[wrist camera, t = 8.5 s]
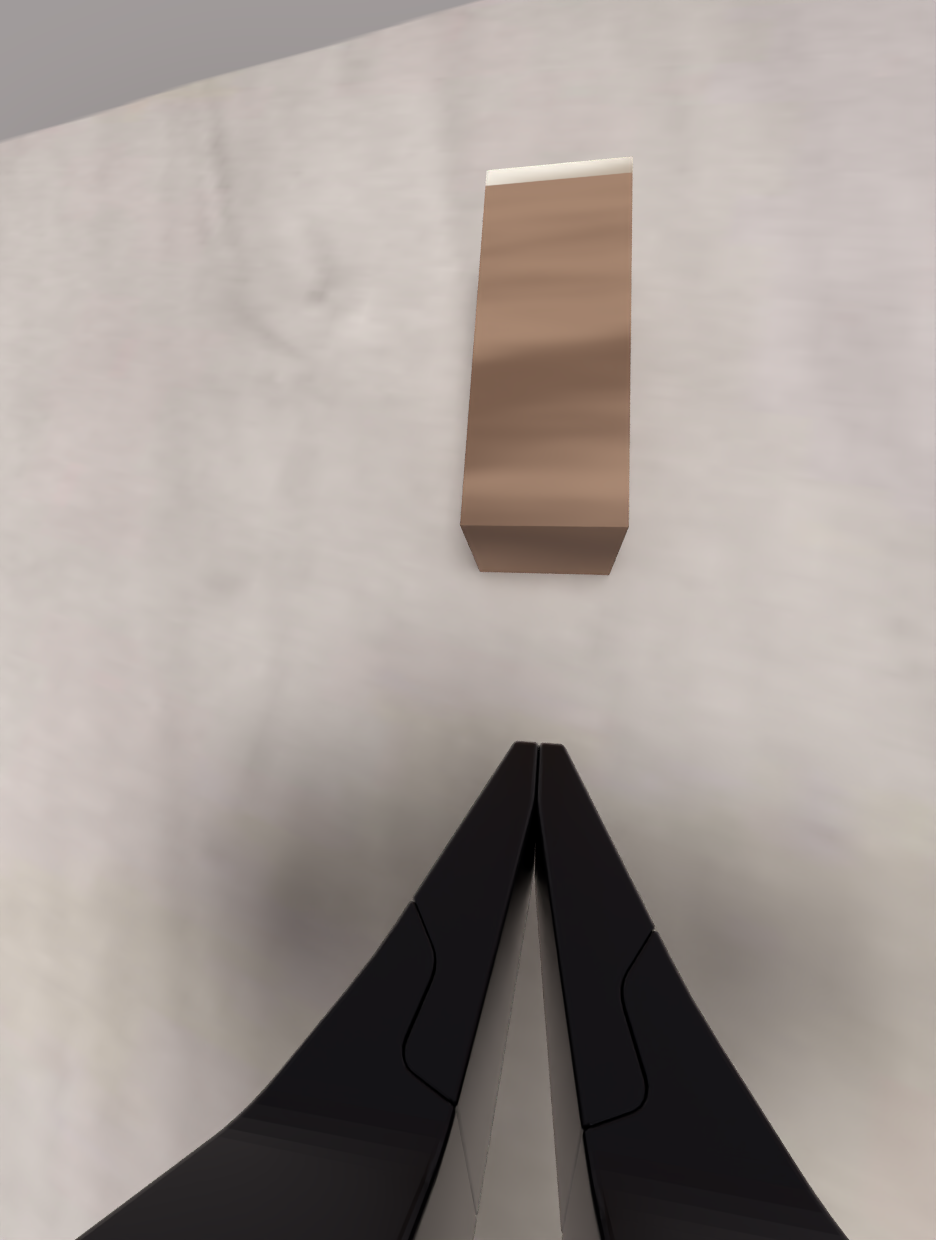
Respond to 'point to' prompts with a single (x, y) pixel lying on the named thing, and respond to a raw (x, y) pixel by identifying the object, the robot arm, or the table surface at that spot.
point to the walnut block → (551, 371)
